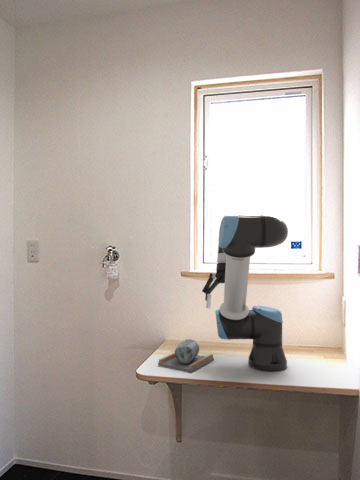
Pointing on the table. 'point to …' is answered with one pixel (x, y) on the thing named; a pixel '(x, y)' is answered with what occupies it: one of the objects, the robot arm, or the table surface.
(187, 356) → the grey thick cylinder
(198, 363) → the slot board
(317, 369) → the table surface
